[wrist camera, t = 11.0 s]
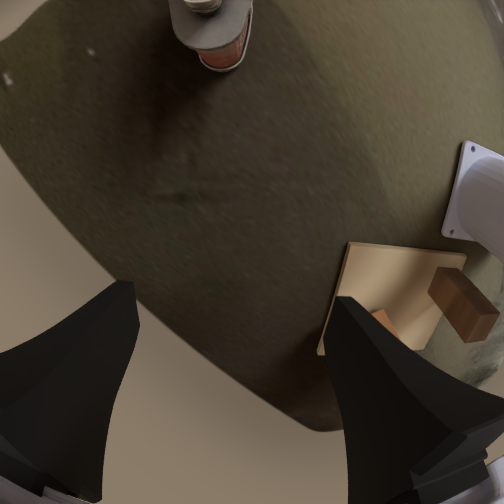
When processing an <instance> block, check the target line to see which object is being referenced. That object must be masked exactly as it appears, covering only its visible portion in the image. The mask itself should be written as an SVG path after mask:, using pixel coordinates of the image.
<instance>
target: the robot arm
mask: <svg viewBox="0 0 504 504" xmlns="http://www.w3.org/2000/svg"><path fill="white" fill-rule="evenodd" d="M471 147H472V151H471ZM451 230H452V231H451ZM450 231H451V232H450ZM441 233H442V235H443V236H445V237H449V238H456V239H463V240H469V241H476V242H478V243H480V244H481V245H482V246H483V247H485V248H486V249H487V250H488V251H490V252H491V253H492V254H493V255H494V256H495V257H497V258H498V259H499V260H500V261H501V262H503V263H504V157H503V156H501V155H499V154H497V153H495V152H493V151H491V150H489V149H486V148H484V147H482V146H480V145H477V144H475V143H473V142H470V141H467V140H466V141H464V142H463V144H462V149H461V154H460V159H459V164H458V169H457V173H456V178H455V182H454V186H453V190H452V194H451V198H450V202H449V205H448V209H447V213H446V216H445V219H444V223H443V226H442V229H441ZM139 327H140V322H139V317H138V311H137V304H136V298H135V291H134V284H133V282H132V281H122V280H117V281H116V282H114V283H113V284H111V285H110V286H108V287H107V288H106V289H104V290H103V291H102V292H100V293H99V294H98V295H97V296H95V297H94V298H93V299H91V300H90V301H88V302H87V303H86V304H85V305H83V306H82V307H81V308H79V309H78V310H77V311H75V312H73V313H72V314H71V315H69V316H68V317H66V318H65V319H63V320H62V321H61V322H59V323H58V324H56V325H55V326H53V327H51V328H50V329H48V330H46V331H45V332H43V333H41V334H40V335H38V336H36V337H34V338H33V339H30V340H29V341H26V342H24V343H22V344H20V345H18V346H16V347H14V348H12V349H10V350H7V351H5V352H2V353H0V504H90V503H97V502H99V501H100V500H102V476H103V464H104V454H105V447H106V440H107V434H108V428H109V423H110V418H111V414H112V409H113V405H114V402H115V398H116V395H117V392H118V390H119V387H120V385H121V382H122V379H123V377H124V374H125V371H126V369H127V366H128V364H129V361H130V358H131V356H132V353H133V350H134V347H135V343H136V340H137V336H138V332H139ZM323 344H324V351H325V357H326V362H327V366H328V369H329V373H330V377H331V380H332V383H333V387H334V390H335V394H336V397H337V401H338V404H339V408H340V412H341V417H342V422H343V429H344V435H345V444H346V454H347V465H348V466H347V468H348V504H504V455H502V456H501V457H499V458H497V459H495V460H494V461H492V462H491V463H489V464H488V465H485V463H484V459H486V458H487V457H488V454H487V452H486V448H487V447H488V446H489V445H490V444H491V443H493V442H494V441H495V440H496V439H497V438H498V437H499V436H500V435H501V434H502V433H503V432H504V398H502V397H499V396H496V395H493V394H490V393H487V392H485V391H482V390H479V389H477V388H475V387H473V386H470V385H468V384H466V383H464V382H462V381H460V380H458V379H456V378H454V377H452V376H451V375H449V374H447V373H445V372H444V371H442V370H440V369H439V368H437V367H435V366H434V365H432V364H431V363H429V362H428V361H427V360H425V359H424V358H422V357H421V356H419V355H418V354H417V353H415V352H414V351H413V350H411V349H410V348H409V347H408V346H406V345H405V344H404V343H403V342H402V341H400V340H399V339H398V338H397V337H396V336H395V335H393V334H392V333H391V332H390V331H389V330H388V329H387V328H386V327H384V326H383V325H382V324H381V323H380V322H379V321H378V320H377V319H376V318H375V317H374V316H373V315H372V314H370V313H369V312H368V311H367V310H366V309H365V308H364V307H363V306H362V305H361V304H360V303H358V302H357V301H356V300H355V299H354V298H353V297H351V296H335V300H334V303H333V306H332V310H331V313H330V316H329V319H328V323H327V326H326V329H325V332H324V335H323ZM68 495H70V496H72V497H70V496H68ZM73 497H75V498H73ZM76 498H79V499H82V500H84V501H88V502H90V503H87V502H84V501H81V500H78V499H76Z"/></svg>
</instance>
